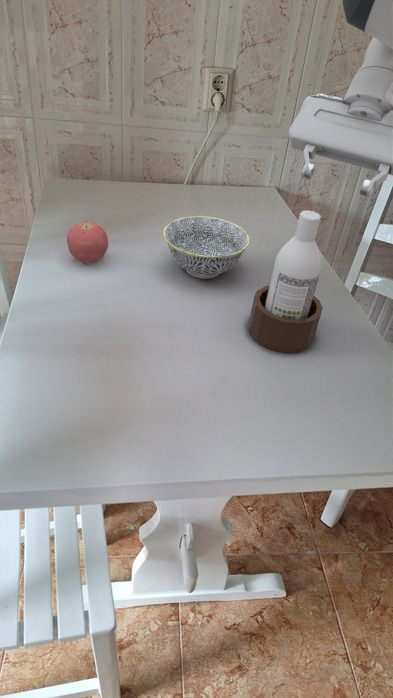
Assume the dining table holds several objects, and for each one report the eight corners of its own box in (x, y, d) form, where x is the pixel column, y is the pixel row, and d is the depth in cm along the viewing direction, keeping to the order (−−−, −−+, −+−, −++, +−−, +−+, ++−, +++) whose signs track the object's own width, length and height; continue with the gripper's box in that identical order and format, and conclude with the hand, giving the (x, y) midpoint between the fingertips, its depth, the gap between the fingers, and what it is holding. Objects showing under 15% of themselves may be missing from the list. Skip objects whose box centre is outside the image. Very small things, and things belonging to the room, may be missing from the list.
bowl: (237, 299, 88) (243, 262, 83) (152, 283, 89) (153, 245, 85) (247, 258, 100) (254, 224, 95) (172, 244, 102) (175, 210, 97)
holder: (305, 315, 86) (313, 286, 82) (319, 354, 78) (329, 324, 74) (244, 312, 85) (250, 282, 81) (253, 351, 77) (259, 321, 73)
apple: (63, 254, 94) (60, 215, 89) (100, 249, 97) (99, 211, 92) (75, 273, 90) (72, 233, 85) (113, 266, 93) (112, 227, 88)
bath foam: (309, 340, 79) (344, 225, 66) (268, 342, 77) (296, 225, 65) (293, 315, 84) (323, 204, 72) (255, 317, 83) (279, 204, 70)
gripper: (307, 76, 75) (269, 156, 75) (443, 105, 68) (402, 193, 68) (310, 103, 81) (275, 177, 81) (436, 133, 74) (398, 214, 74)
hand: (334, 185), depth 74 cm, fingers open, 8 cm apart
